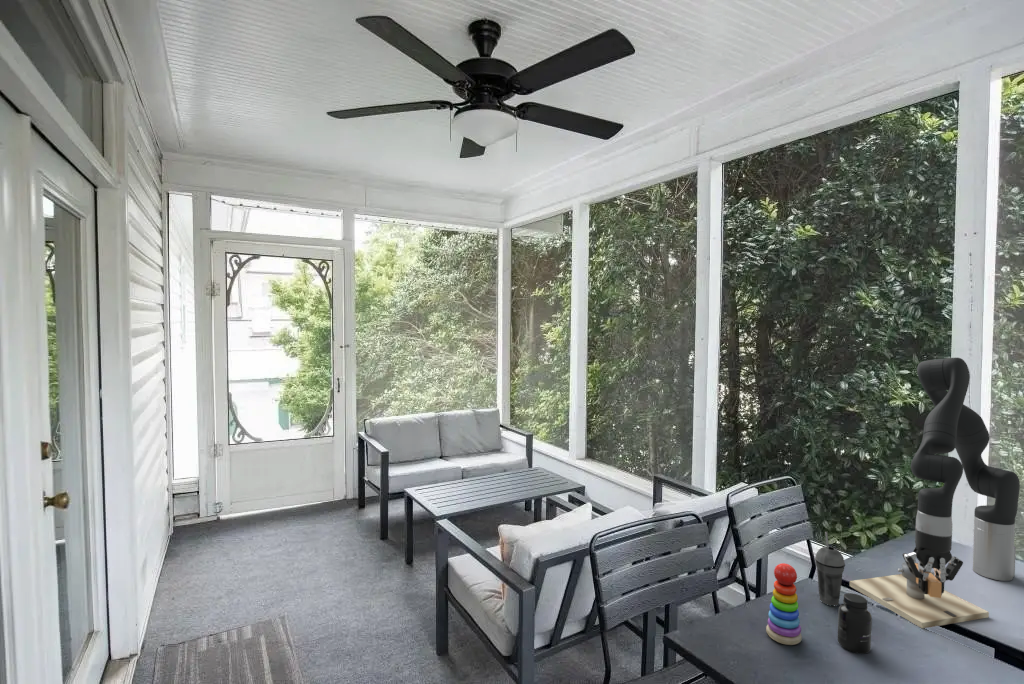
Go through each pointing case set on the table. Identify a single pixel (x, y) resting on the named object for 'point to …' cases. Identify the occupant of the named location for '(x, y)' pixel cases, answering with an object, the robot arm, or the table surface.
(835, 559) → the beverage cup
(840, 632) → the supplement bottle
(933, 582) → the orange lever handle
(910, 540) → the table surface
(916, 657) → the table surface
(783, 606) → the stacking toy
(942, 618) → the post board
